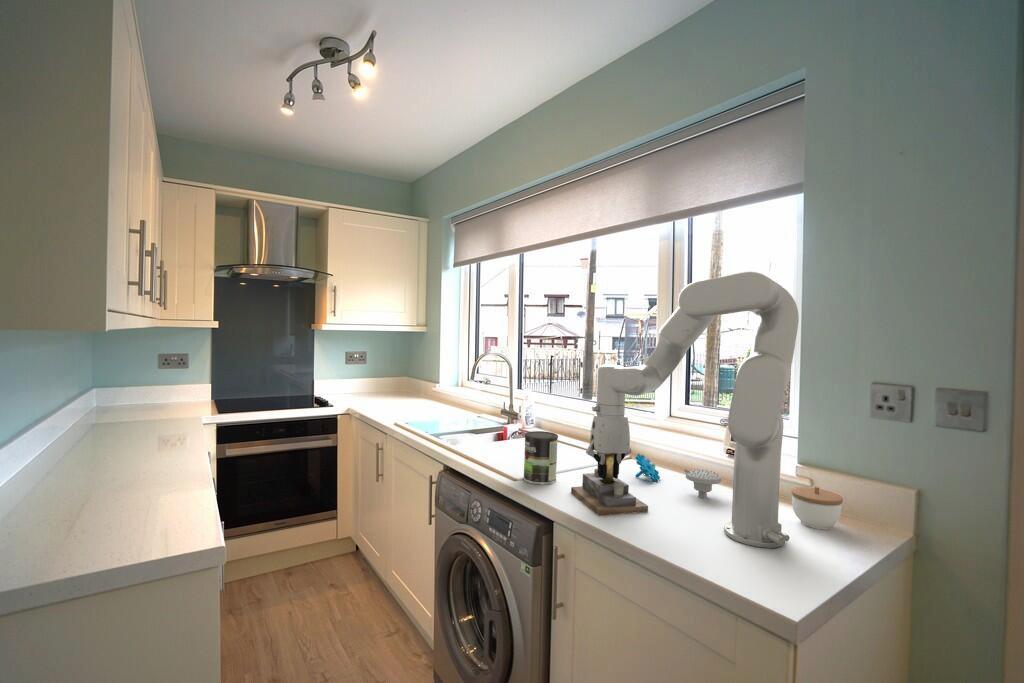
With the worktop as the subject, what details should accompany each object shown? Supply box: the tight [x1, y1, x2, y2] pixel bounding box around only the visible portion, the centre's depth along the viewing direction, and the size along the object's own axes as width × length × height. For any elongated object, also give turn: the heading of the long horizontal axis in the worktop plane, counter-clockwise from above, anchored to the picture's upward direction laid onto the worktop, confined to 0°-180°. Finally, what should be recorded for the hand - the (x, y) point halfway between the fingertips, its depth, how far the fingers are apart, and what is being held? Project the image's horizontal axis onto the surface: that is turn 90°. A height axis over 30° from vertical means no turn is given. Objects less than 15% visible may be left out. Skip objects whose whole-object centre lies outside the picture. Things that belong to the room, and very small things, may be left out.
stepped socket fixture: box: [570, 468, 649, 516], centre depth 133 cm, size 18×14×7 cm
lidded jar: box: [791, 486, 844, 530], centre depth 121 cm, size 11×11×9 cm
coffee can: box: [523, 430, 559, 486], centre depth 151 cm, size 10×10×14 cm
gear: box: [634, 453, 661, 482], centre depth 156 cm, size 11×6×10 cm
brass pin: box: [602, 454, 614, 484], centre depth 133 cm, size 3×3×10 cm
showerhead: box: [683, 468, 722, 498], centre depth 140 cm, size 9×7×10 cm
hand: (608, 476), depth 133 cm, fingers closed on brass pin, 3 cm apart
